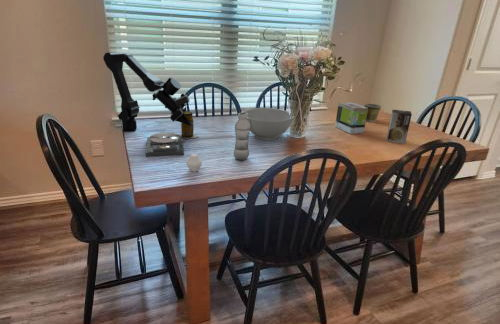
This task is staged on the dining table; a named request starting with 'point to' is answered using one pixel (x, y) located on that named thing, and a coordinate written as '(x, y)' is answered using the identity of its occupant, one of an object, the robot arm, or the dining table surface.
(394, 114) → the coffee box
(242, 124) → the plastic bottle
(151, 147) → the scale base
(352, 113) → the tea box
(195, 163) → the white egg shape
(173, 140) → the scale pan
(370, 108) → the ceramic cup
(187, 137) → the condiment
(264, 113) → the decorative bowl
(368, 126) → the dining table surface
